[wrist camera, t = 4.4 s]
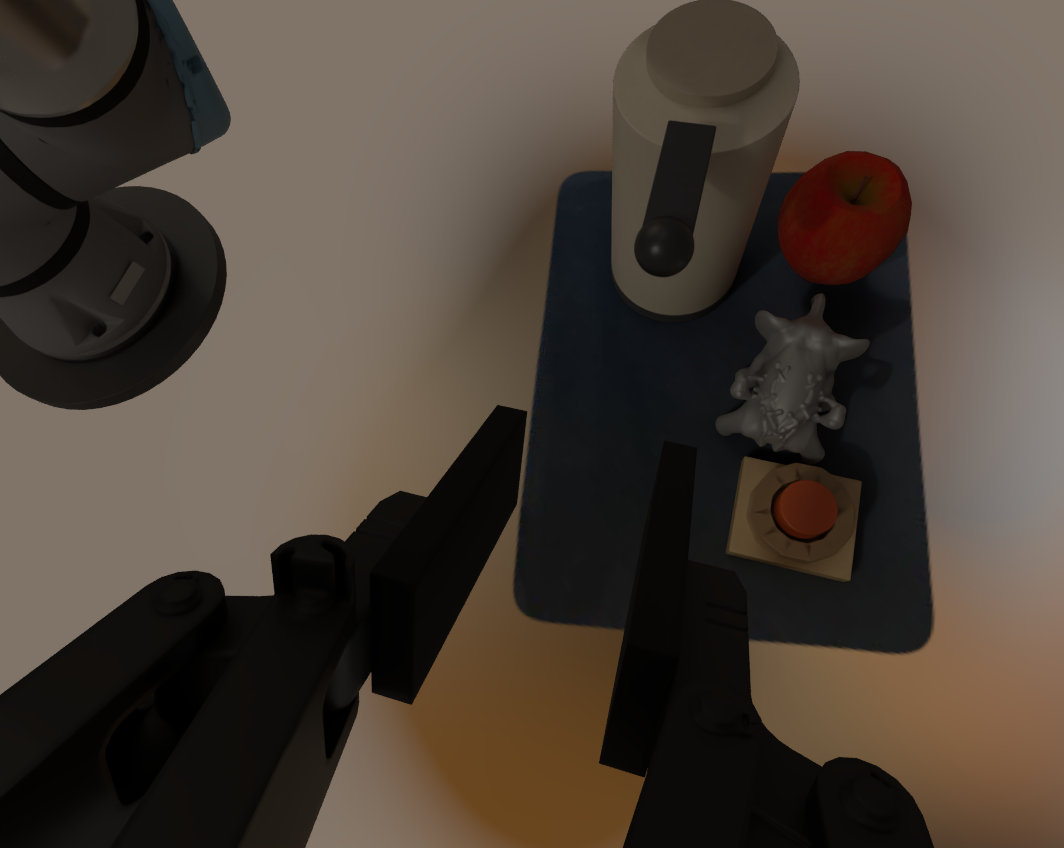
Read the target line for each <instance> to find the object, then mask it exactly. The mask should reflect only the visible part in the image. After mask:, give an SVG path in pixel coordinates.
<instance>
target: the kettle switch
mask: <svg viewBox="0 0 1064 848" xmlns="http://www.w3.org/2000/svg"><path fill="white" fill-rule="evenodd" d="M715 133H716V126H713V125H705V124H697V123H688V122H680V121H672V120H669V121H668V124H667V128H666V132H665V136H664V140H663V144H662V148H661V152H660V156H659V160H658V164H657V168H656V173H655V177H654V181H653V185H652V189H651V193H650V197H649V201H648V205H647V209H646V213H645V217H644V221H643V225H642V228H641V229H640V231H639V232H638V234H637V236H636V239H635V244H634V253H635V257H636V260H637V262H638V264H639V265H640V267H641V268H642V269H643V270H644V271H645V272H647V273H648V274H650V275H652V276H655V277H670V276H673V275H676V274H678V273H679V272H681V271H682V270H683V269H684V268H685V267H686V266H687V265H688V264H689V262H690V261H691V259H692V256H693V253H694V237H693V233H694V229H695V224H696V220H697V215H698V211H699V206H700V201H701V197H702V192H703V188H704V183H705V179H706V174H707V170H708V165H709V160H710V156H711V151H712V147H713V142H714V138H715Z"/></svg>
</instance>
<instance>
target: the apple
mask: <svg viewBox="0 0 1064 848" xmlns="http://www.w3.org/2000/svg"><path fill="white" fill-rule="evenodd" d="M911 206H912V201H911V197H910V192H909V188H908V183H907V180H906V179H905V177H904V175H903V173H902V172H901V170H900V168H899V167H898V166H897V165H896V164H894V163H893V162H892V161H890V160H889V159H887V158H884V157H881V156H878V155H875V154H871V153H868V152H859V151H858V152H857V151H846V152H843V153H840V154H837V155H834V156H832V157H829V158H827V159H824V160H823V161H821V162H820V163H819V164H817V165H816V166H814V167H813V168H811V169H810V170H809V171H807V172H806V173H804V174H803V175H802V177H801V178H800V179H799V180H798V181H797V182H796V184H795V185H794V186H793V187H792V188H791V189H790V191H789V192H788V193H787V195H786V197H785V199H784V201H783V203H782V206H781V210H780V213H779V217H778V220H777V221H778V238H779V243H780V247H781V250H782V252H783V254H784V256H785V258H786V260H787V262H788V263H789V265H790V267H791V268H792V269H793V270H794V271H795V272H796V273H797V274H798V275H799V276H801V277H802V278H804V279H805V280H807V281H809V282H813V283H818V284H826V285H840V284H847V283H851V282H854V281H856V280H858V279H861V278H863V277H865V276H866V275H867V274H869V273H870V272H871V271H873V270H874V269H875V268H876V267H877V266H879V265H880V264H881V263H882V262H883V261H884V260H885V259H886V258H888V257H889V256H890V255H891V254H892V253H893V252H894V250H895V249H896V248H897V246H898V245H899V243H900V242H901V240H902V239H903V237H904V236H905V235H906V233H907V231H908V226H909V221H910V216H911Z"/></svg>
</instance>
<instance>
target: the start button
mask: <svg viewBox="0 0 1064 848" xmlns="http://www.w3.org/2000/svg"><path fill="white" fill-rule="evenodd" d="M774 514H775V518H776V520H777V523H778V524H779V526H780V527H781V528H782V529H783V530H784V531H785V532H786V533H788V534H790V535H791V536H794V537H797V538H801V539H808V538H813V537H816V536H818V535H820V534H822V533H824V532H826V531H827V530H829V529H830V528H831V527H832V526H833V525H834V523H835V521H836V519H837V515H838V505H837V502H836V499H835V497H834V495H833V494H832V493H831V491H830V490H829V489H828V488H827V487H825V486H824V485H822V484H820V483H818V482H815V481H811V480H800V481H796V482H794V483H792V484H790V485H789V486H788V487H787V488H785V489H784V490H783V491H782V492H781V493H780V494H779V495H778V497H777V499H776V501H775V504H774Z"/></svg>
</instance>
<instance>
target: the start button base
mask: <svg viewBox="0 0 1064 848" xmlns="http://www.w3.org/2000/svg"><path fill="white" fill-rule="evenodd" d="M800 480H811V481H815V482H818V483H820V484H822V485H824V486H825V487H827V488H828V489H829V490H830V491H831V493H832V494H833V495H834V497H835V499H836V502H837V505H838V515H837V519H836V521H835V523H834V525H833V526H832V527H831V528H830V529H829V530H827V531H826V532H824V533H822V534H820V535H818V536H816V537H813V538H808V539H801V538H797V537H794V536H791V535H790V534H788V533H786V532H785V531H784V530H783V529H782V528H781V527H780V526H779V524H778V523H777V520H776V518H775V514H774V504H775V501H776V499H777V497H778V495H779V494H780V493H781V492H782V491H783V490H784V489H785V488H787V487H788V486H789V485H790V484H792V483H794V482H796V481H800ZM861 485H862V481H859V480H854V479H849V478H845V477H840V476H835V475H831V474H829V473H828V472H827V471H826V470H824V469H822V468H820V467H815V466H810V465H806V464H801V463H792V464H789V465H784V464H779V463H774V462H770V461H765V460H760V459H755V458H751V457H746V456H745V457H744V458H743V460H742V462H741V468H740V474H739V479H738V485H737V491H736V497H735V502H734V508H733V514H732V520H731V525H730V531H729V537H728V543H727V549H726V554H729V555H734V556H738V557H742V558H746V559H750V560H754V561H758V562H763V563H767V564H771V565H775V566H779V567H783V568H787V569H791V570H796V571H800V572H804V573H808V574H812V575H816V576H820V577H825V578H829V579H833V580H837V581H841V582H847V581H850V580H851V571H852V562H853V554H854V545H855V536H856V528H857V519H858V511H859V502H860V493H861Z"/></svg>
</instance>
